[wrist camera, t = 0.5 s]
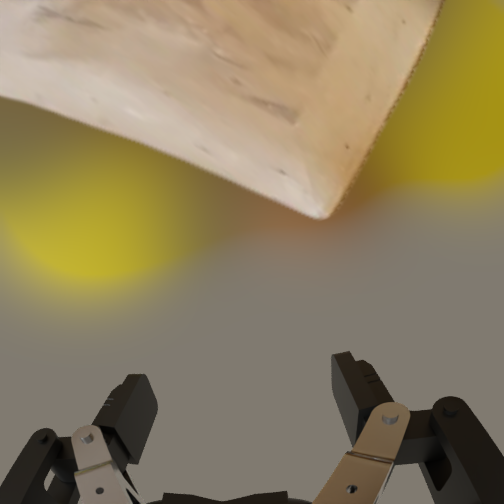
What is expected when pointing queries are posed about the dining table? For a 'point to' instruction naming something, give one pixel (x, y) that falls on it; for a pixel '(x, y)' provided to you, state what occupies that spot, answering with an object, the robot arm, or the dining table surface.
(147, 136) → the dining table surface
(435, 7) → the dining table surface
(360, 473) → the robot arm
